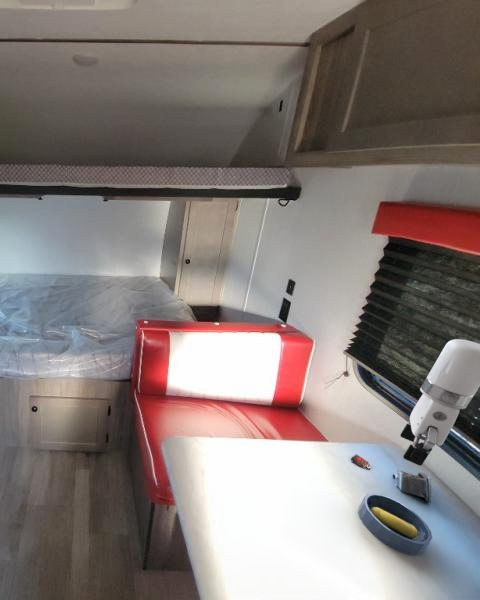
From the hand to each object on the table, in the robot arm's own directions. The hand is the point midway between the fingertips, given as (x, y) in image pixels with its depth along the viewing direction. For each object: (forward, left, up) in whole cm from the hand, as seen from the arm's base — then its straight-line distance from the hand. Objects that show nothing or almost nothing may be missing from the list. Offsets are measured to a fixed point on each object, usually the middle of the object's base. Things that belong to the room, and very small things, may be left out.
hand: (409, 450), depth 81 cm
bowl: (-3, +4, -20) cm, 21 cm away
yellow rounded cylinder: (-3, +4, -18) cm, 19 cm away
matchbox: (+3, -18, -20) cm, 27 cm away
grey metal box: (-8, -18, -21) cm, 28 cm away
